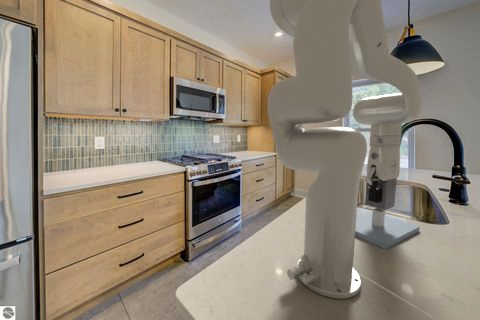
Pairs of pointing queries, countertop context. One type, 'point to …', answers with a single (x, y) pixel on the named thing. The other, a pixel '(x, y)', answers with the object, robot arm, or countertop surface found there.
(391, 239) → the post board
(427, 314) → the countertop surface
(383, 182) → the grey block
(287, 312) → the countertop surface
